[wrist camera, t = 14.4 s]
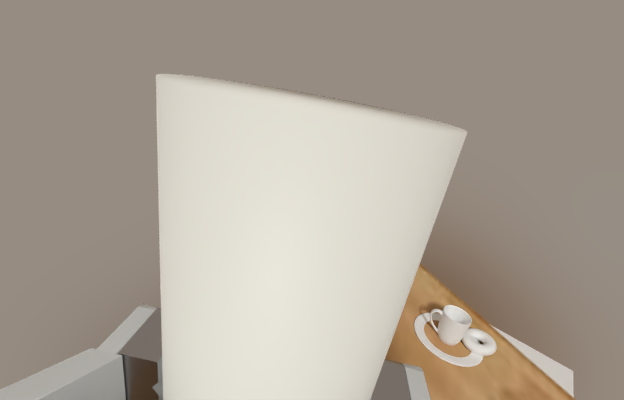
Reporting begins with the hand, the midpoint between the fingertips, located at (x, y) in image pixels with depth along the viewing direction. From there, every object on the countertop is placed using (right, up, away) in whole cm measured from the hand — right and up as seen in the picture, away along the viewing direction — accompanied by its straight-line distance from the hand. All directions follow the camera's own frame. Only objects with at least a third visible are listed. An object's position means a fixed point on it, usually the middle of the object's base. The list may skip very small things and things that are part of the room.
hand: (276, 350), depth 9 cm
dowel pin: (-2, -10, +3) cm, 11 cm away
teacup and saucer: (+18, -14, +25) cm, 34 cm away
